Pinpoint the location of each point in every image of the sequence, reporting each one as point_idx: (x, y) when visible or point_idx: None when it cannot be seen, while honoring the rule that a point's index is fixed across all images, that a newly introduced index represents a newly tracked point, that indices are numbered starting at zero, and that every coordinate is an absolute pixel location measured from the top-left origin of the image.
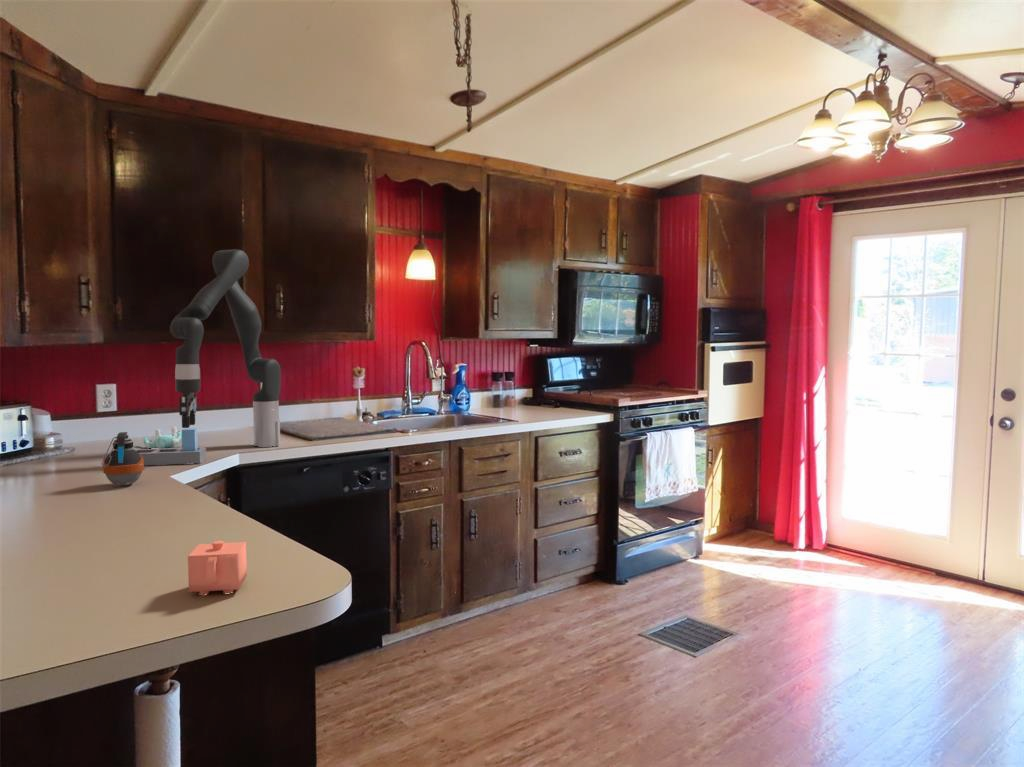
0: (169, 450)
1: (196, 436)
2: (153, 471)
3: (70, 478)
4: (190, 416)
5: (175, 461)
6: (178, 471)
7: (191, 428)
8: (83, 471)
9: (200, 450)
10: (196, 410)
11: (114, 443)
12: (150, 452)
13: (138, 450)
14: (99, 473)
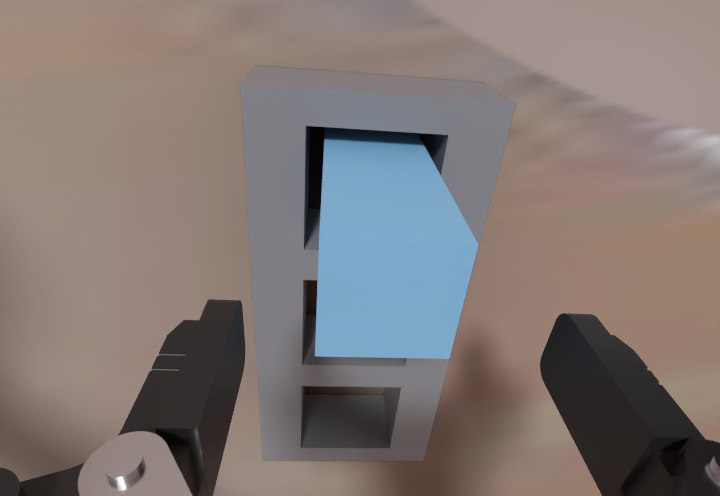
0: (302, 319)
1: (366, 195)
2: (606, 294)
3: (585, 489)
4: (216, 437)
5: None
6: (689, 178)
7: (330, 293)
8: (463, 491)
9: (437, 107)
10: (2, 482)
11: None
12: (405, 388)
13: (300, 444)
14: (533, 448)
